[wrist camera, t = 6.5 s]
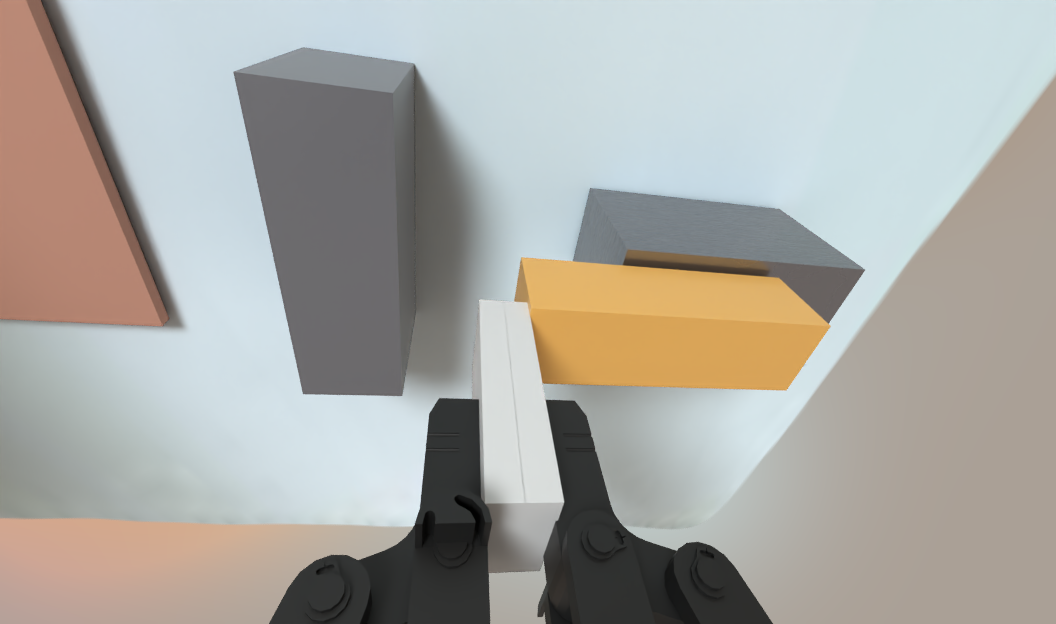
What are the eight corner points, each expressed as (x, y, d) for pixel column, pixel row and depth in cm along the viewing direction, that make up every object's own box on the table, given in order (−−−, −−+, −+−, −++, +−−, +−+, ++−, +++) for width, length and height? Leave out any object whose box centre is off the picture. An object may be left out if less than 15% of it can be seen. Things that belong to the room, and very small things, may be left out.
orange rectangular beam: (510, 326, 17) (517, 382, 14) (521, 257, 15) (531, 308, 13) (744, 338, 18) (786, 390, 16) (778, 277, 17) (831, 326, 14)
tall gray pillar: (337, 309, 23) (303, 393, 18) (303, 47, 16) (233, 71, 11) (415, 313, 24) (402, 395, 19) (414, 63, 17) (392, 92, 12)
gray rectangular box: (572, 262, 23) (600, 336, 18) (590, 188, 20) (627, 249, 16) (745, 276, 24) (812, 346, 20) (779, 209, 22) (865, 269, 17)
